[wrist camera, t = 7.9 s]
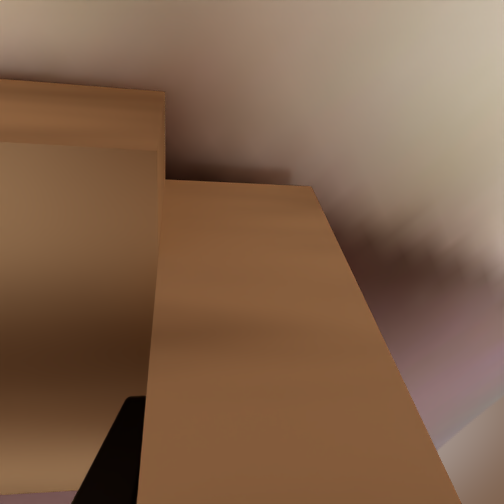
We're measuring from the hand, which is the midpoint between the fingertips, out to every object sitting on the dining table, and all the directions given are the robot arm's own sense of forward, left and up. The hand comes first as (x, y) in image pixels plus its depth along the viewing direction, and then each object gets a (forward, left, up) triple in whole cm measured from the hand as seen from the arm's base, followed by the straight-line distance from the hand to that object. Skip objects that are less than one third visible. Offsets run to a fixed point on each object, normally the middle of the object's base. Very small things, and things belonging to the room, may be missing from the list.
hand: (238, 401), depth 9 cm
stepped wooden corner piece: (0, +2, -4) cm, 5 cm away
